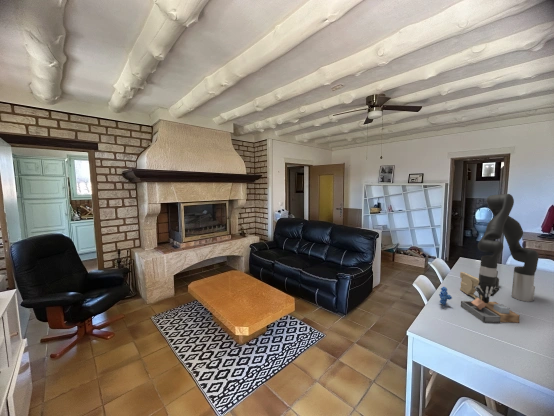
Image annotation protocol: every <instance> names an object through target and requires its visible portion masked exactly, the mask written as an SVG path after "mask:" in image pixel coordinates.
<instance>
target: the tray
mask: <svg viewBox="0 0 554 416" xmlns="http://www.w3.org/2000/svg"><path fill="white" fill-rule="evenodd" d="M472 301H473V300H460V308H462V309H464V310H465V311H467V312H468V313H470V315H472V316H474V317H475V318H476V319H478V320H480V321H481V322H482V323H488V324H500V323H501V322H500V318H501V317H500V316H498V315H497V314H495V313H493V312H492V311H490V310H489V309H487V308H485V307H484V308H482V309H481V310H479V309H478V308H476V307H474V306H473V304H472V303H471V302H472Z"/></svg>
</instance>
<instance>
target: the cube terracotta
mask: <svg viewBox="0 0 554 416" xmlns="http://www.w3.org/2000/svg"><path fill="white" fill-rule="evenodd" d="M471 301H472V302H471V303H472V304H473V306H474V307H476V308H478V309H479V310H481V309H482V308H484V307H485V306H487V305H486V304H485V303H484V301H482V300H480V299H478V298H477V299H475V298H474V299H473V300H471Z"/></svg>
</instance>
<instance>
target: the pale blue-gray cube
mask: <svg viewBox="0 0 554 416" xmlns="http://www.w3.org/2000/svg"><path fill="white" fill-rule="evenodd" d="M494 310H496V311H498V312H499V313H506V314H509V311H510V310H511V309H510V307H508V306H507V305H504V304H503V303H498V304H494Z"/></svg>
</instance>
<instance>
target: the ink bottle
mask: <svg viewBox="0 0 554 416" xmlns="http://www.w3.org/2000/svg"><path fill="white" fill-rule="evenodd" d="M498 273H499V271H498V270H497V278H496V284H495V285H496V287H497V288H499V287H500V277H498Z"/></svg>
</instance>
